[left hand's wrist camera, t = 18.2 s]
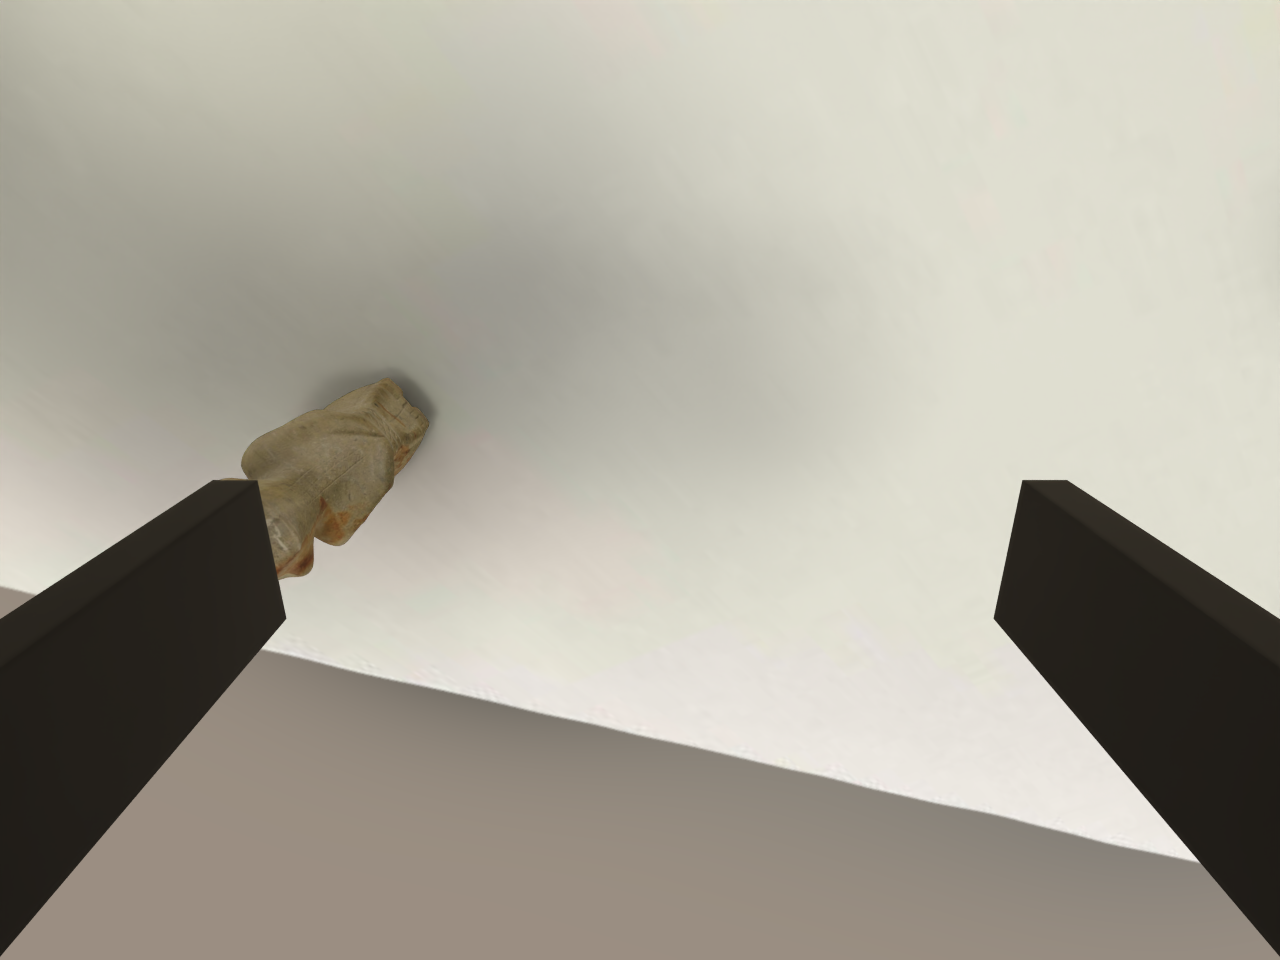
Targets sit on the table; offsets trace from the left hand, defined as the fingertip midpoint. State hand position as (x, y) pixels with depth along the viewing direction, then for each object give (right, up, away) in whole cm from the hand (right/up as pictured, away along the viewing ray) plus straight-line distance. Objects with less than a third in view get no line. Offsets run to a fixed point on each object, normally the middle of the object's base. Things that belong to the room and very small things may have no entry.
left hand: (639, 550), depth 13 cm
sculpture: (-15, +4, +28) cm, 32 cm away
